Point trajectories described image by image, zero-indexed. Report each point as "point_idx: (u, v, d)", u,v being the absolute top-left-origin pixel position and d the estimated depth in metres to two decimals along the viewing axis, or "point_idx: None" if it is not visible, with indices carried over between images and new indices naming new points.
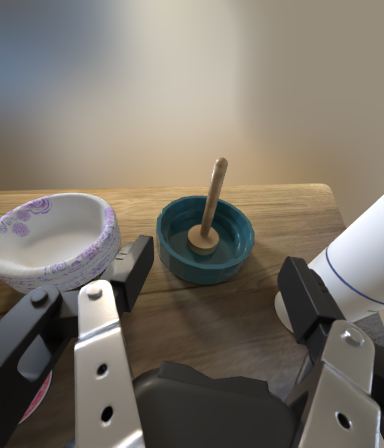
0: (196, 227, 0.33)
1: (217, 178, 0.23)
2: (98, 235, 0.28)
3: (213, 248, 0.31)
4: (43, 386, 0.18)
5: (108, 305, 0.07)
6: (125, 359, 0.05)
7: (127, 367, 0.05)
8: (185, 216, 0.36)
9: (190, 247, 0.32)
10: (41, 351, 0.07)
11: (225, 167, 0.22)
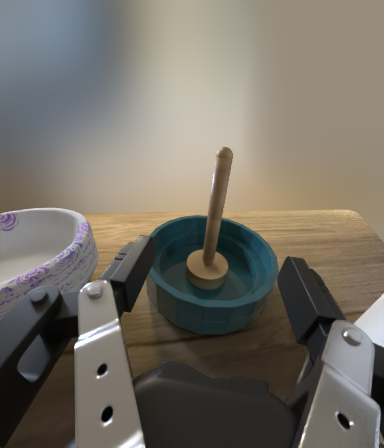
0: (198, 252, 0.26)
1: (220, 175, 0.17)
2: None
3: (221, 279, 0.23)
4: None
5: (108, 305, 0.07)
6: (125, 359, 0.05)
7: (127, 367, 0.05)
8: (185, 241, 0.29)
9: (189, 278, 0.24)
10: (41, 351, 0.07)
11: (230, 158, 0.16)
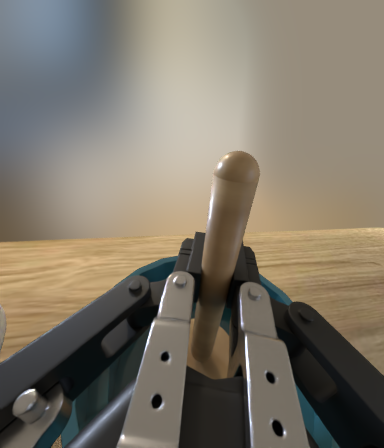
0: None
1: (225, 223, 0.07)
2: None
3: None
4: None
5: (186, 299, 0.07)
6: (185, 361, 0.05)
7: (185, 370, 0.05)
8: None
9: None
10: (122, 330, 0.08)
11: (253, 183, 0.06)
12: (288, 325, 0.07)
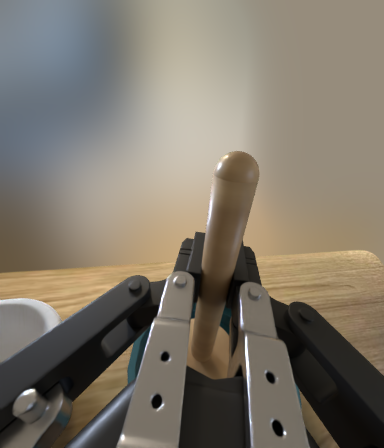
0: None
1: (225, 223, 0.07)
2: None
3: None
4: None
5: (186, 299, 0.07)
6: (185, 361, 0.05)
7: (184, 370, 0.05)
8: None
9: None
10: (122, 330, 0.08)
11: (252, 183, 0.06)
12: (288, 325, 0.07)
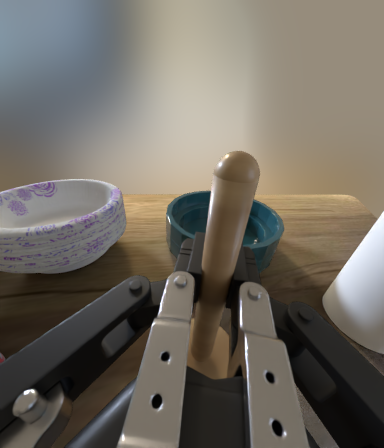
0: None
1: (225, 223, 0.07)
2: None
3: None
4: None
5: (187, 299, 0.07)
6: (185, 361, 0.05)
7: (185, 370, 0.05)
8: (199, 213, 0.33)
9: None
10: (122, 330, 0.08)
11: (253, 183, 0.06)
12: (288, 325, 0.07)
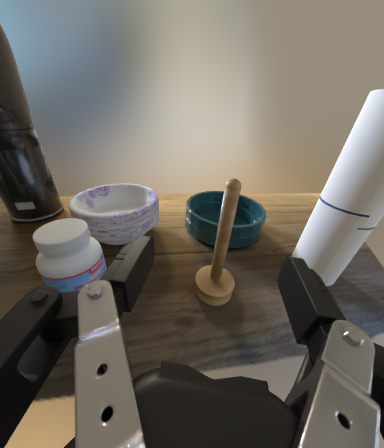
0: (205, 268, 0.27)
1: (229, 203, 0.18)
2: None
3: (228, 296, 0.24)
4: None
5: (108, 305, 0.07)
6: (125, 359, 0.05)
7: (127, 367, 0.05)
8: (207, 208, 0.45)
9: (198, 294, 0.25)
10: (41, 351, 0.07)
11: (238, 189, 0.18)
12: None
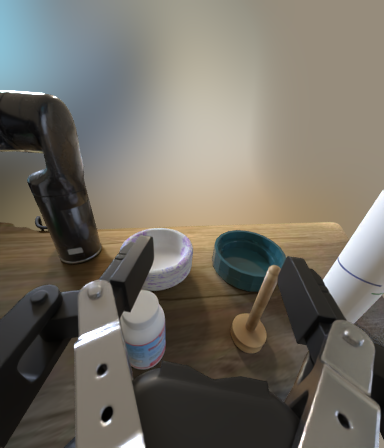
0: (239, 316, 0.32)
1: (271, 284, 0.23)
2: (177, 255, 0.41)
3: (262, 345, 0.29)
4: (165, 344, 0.28)
5: (108, 305, 0.07)
6: (125, 359, 0.05)
7: (127, 367, 0.05)
8: (229, 245, 0.49)
9: (236, 343, 0.30)
10: (41, 351, 0.07)
11: None
12: None
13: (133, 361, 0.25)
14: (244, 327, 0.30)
